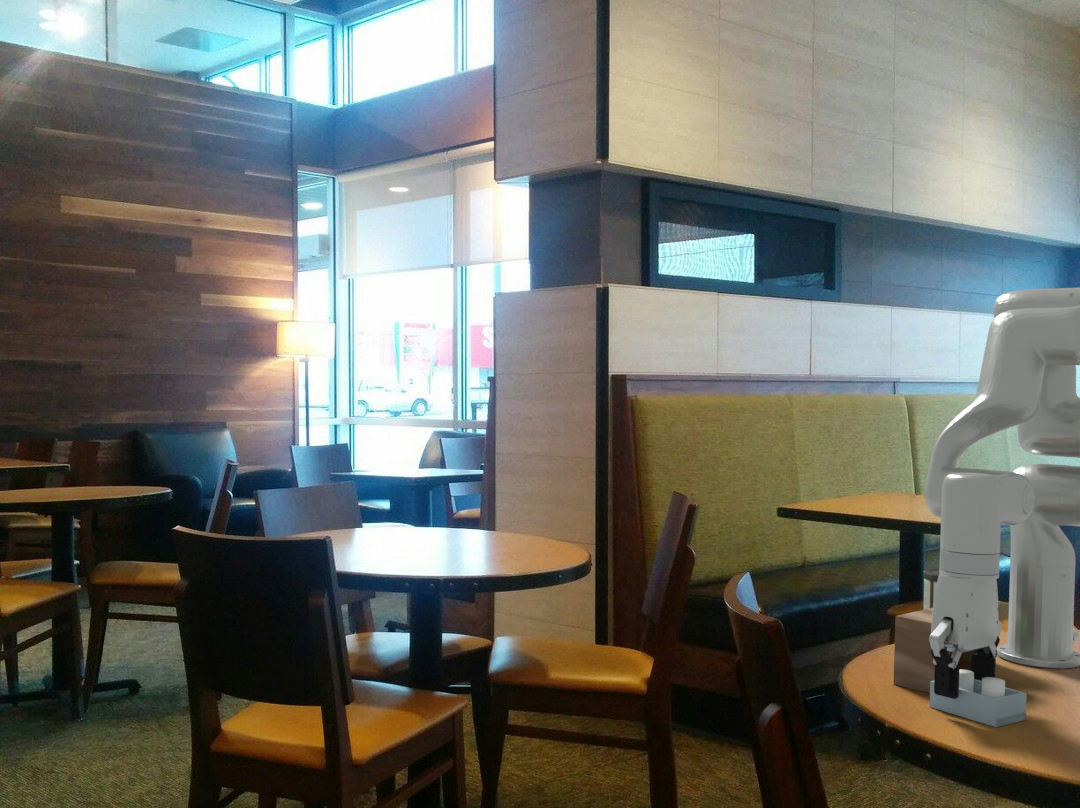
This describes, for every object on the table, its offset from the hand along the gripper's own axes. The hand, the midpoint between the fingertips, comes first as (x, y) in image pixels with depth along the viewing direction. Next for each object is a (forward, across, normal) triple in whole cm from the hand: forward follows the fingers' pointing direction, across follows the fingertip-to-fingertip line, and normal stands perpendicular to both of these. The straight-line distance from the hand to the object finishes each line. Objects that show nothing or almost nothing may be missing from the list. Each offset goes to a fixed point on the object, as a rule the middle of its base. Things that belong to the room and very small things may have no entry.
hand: (964, 690), depth 145 cm
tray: (+2, 0, +2) cm, 3 cm away
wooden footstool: (+2, -10, -9) cm, 14 cm away
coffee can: (+2, -24, -15) cm, 29 cm away
